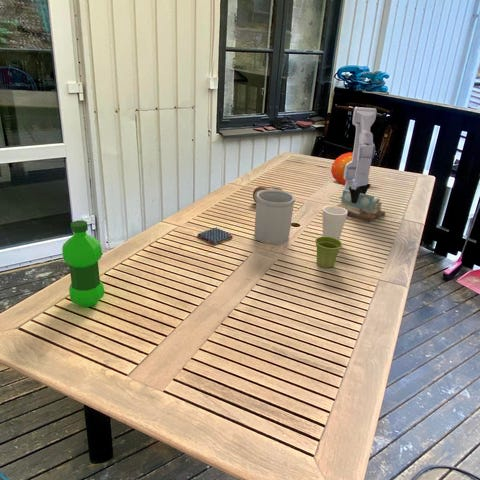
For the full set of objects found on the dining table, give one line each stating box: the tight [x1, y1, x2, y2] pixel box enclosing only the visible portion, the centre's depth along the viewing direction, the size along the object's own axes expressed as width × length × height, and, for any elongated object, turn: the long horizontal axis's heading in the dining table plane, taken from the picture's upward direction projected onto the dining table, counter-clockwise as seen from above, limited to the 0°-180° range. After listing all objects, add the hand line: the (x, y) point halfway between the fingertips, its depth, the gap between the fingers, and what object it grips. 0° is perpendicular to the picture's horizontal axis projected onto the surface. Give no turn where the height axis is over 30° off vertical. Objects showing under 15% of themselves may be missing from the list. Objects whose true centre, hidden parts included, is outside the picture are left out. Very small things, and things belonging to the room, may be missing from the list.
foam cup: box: [321, 205, 348, 240], centre depth 173 cm, size 10×9×13 cm
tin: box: [252, 185, 284, 203], centre depth 206 cm, size 15×3×8 cm, turn 84°
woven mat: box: [196, 226, 233, 246], centre depth 172 cm, size 10×11×2 cm
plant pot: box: [314, 236, 343, 269], centre depth 156 cm, size 9×9×9 cm
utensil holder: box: [254, 189, 296, 245], centre depth 172 cm, size 15×15×18 cm
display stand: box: [336, 201, 386, 223], centre depth 203 cm, size 14×19×6 cm
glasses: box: [340, 188, 381, 211], centre depth 203 cm, size 10×14×6 cm
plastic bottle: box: [61, 220, 105, 308], centre depth 123 cm, size 10×10×25 cm
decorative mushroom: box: [330, 151, 357, 185], centre depth 244 cm, size 15×21×15 cm
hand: (357, 200), depth 200 cm, fingers open, 7 cm apart
